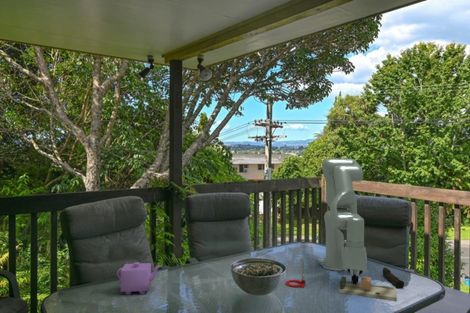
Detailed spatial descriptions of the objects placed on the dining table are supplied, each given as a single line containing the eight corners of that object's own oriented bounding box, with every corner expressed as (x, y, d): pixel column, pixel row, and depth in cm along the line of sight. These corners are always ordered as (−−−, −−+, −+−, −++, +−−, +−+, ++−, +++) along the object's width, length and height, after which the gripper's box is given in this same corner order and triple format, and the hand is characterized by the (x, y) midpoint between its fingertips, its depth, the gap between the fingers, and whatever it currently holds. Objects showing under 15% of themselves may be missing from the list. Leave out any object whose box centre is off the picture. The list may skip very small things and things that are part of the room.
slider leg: (360, 290, 158) (360, 281, 158) (361, 284, 165) (361, 276, 165) (370, 291, 157) (370, 282, 157) (370, 286, 163) (370, 277, 163)
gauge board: (338, 292, 160) (338, 282, 160) (341, 283, 171) (341, 274, 171) (396, 301, 151) (396, 290, 151) (395, 291, 162) (395, 281, 162)
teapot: (114, 295, 155) (114, 267, 154) (119, 287, 165) (119, 260, 165) (161, 293, 157) (161, 265, 157) (163, 285, 167) (163, 258, 167)
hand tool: (404, 289, 165) (404, 279, 165) (395, 289, 166) (396, 279, 166) (388, 275, 184) (388, 266, 184) (380, 275, 184) (381, 266, 184)
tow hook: (284, 287, 167) (304, 288, 165) (283, 260, 167) (303, 260, 165) (286, 281, 175) (305, 282, 173) (285, 255, 175) (304, 256, 173)
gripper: (337, 244, 163) (337, 284, 163) (372, 247, 157) (372, 289, 157) (339, 240, 169) (339, 278, 170) (372, 243, 164) (372, 283, 164)
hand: (354, 283), depth 163 cm, fingers closed
